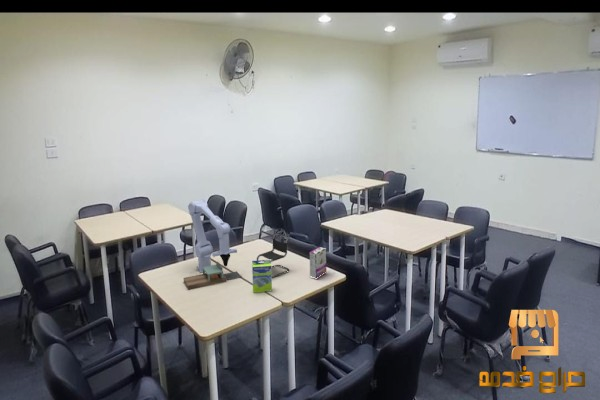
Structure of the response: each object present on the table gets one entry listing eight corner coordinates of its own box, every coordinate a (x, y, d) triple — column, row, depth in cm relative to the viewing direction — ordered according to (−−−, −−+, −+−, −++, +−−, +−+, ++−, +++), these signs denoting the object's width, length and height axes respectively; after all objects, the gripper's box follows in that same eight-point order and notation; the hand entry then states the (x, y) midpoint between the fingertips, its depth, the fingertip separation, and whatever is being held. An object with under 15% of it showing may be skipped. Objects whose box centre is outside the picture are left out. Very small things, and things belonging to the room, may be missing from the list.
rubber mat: (222, 274, 238) (222, 274, 238) (236, 271, 242) (236, 271, 242) (227, 280, 230) (227, 279, 230) (241, 277, 234) (241, 276, 234)
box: (253, 293, 214) (252, 263, 210) (252, 289, 218) (251, 260, 214) (272, 291, 216) (271, 262, 212) (271, 288, 220) (270, 259, 216)
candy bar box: (319, 271, 241) (319, 246, 238) (326, 273, 238) (326, 248, 235) (309, 277, 233) (309, 251, 229) (316, 279, 230) (316, 253, 226)
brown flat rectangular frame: (183, 281, 229) (183, 277, 228) (220, 274, 239) (220, 270, 238) (188, 289, 219) (188, 285, 218) (226, 281, 229) (226, 277, 228)
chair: (291, 271, 243) (291, 237, 238) (270, 279, 231) (269, 244, 226) (278, 265, 252) (277, 232, 247) (256, 273, 240) (255, 239, 235)
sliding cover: (203, 273, 233) (202, 264, 232) (217, 270, 237) (217, 261, 236) (208, 281, 223) (207, 270, 222) (223, 277, 227) (223, 267, 226)
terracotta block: (209, 279, 232) (208, 270, 231) (215, 278, 234) (215, 269, 232) (211, 282, 228) (210, 273, 227) (217, 280, 230) (217, 272, 229)
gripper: (214, 248, 223) (215, 270, 226) (238, 244, 230) (239, 265, 233) (210, 244, 229) (212, 266, 232) (234, 240, 236) (235, 261, 239)
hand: (225, 265), depth 233 cm, fingers closed
